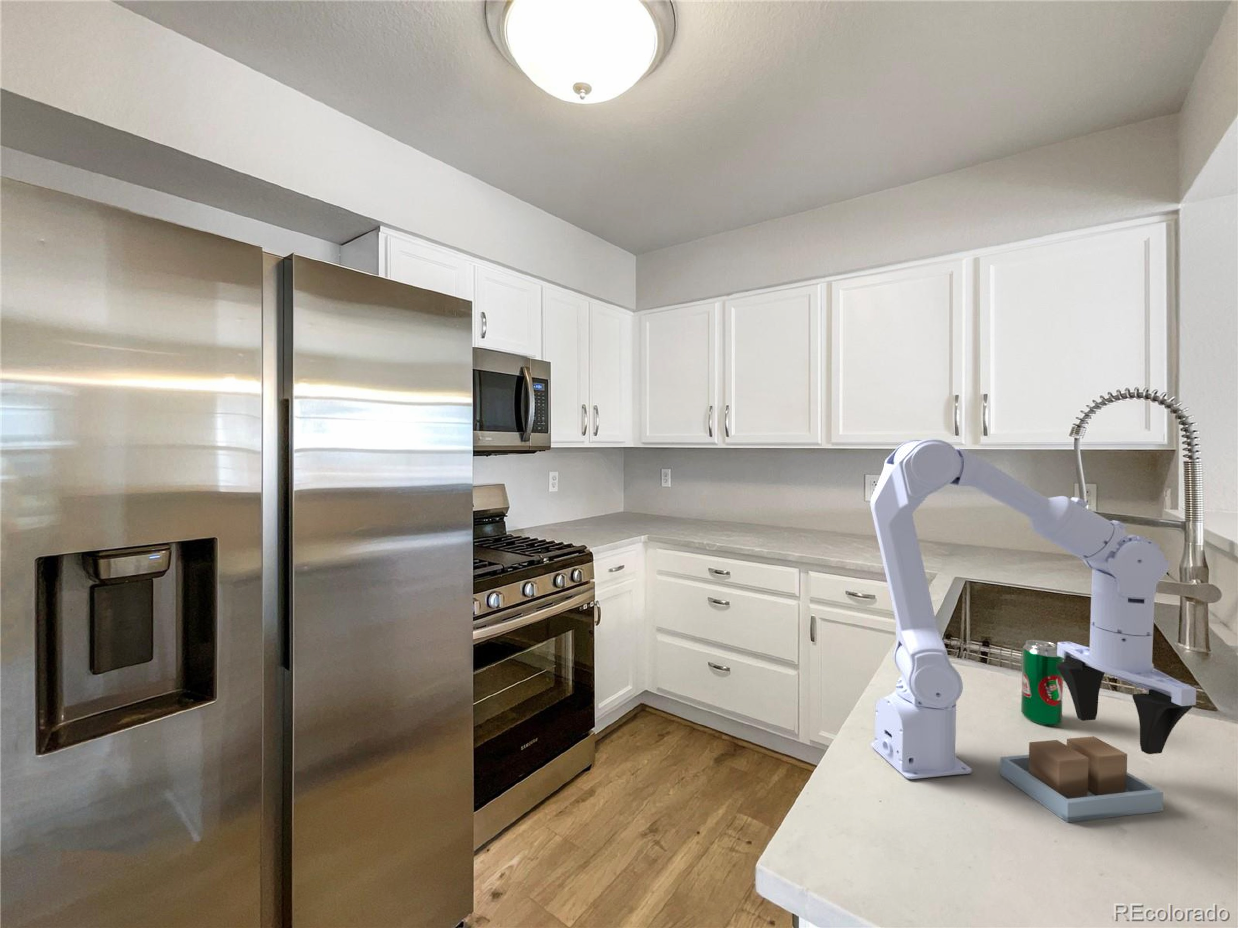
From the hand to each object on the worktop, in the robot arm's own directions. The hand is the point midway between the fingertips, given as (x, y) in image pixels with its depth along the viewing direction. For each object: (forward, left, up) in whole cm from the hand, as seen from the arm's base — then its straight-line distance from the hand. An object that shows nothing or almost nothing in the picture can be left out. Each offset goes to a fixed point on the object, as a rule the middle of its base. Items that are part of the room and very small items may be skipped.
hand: (1117, 734), depth 67 cm
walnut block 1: (-9, 0, -6) cm, 11 cm away
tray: (-6, 0, -7) cm, 9 cm away
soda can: (+6, +16, -7) cm, 19 cm away
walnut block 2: (-3, 0, -6) cm, 7 cm away
